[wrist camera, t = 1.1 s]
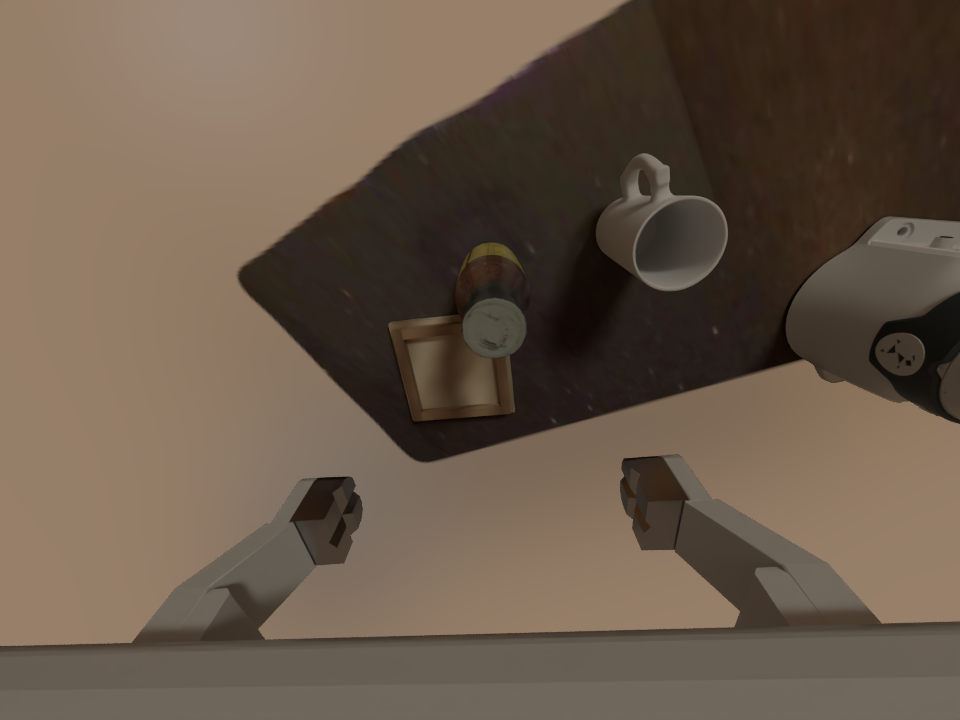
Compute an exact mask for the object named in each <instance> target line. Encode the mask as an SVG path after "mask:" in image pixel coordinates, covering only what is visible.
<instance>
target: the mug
mask: <svg viewBox="0 0 960 720" xmlns="http://www.w3.org/2000/svg"><path fill="white" fill-rule="evenodd" d="M640 169H642V170H643V171H644V172H645V173H646V175H647V177H648V179H649V182H650V187H651V196H642V195H641V194H640V192H639V187H638V174H639V171H640ZM669 181H670V172H669V166H667V165H663V164H662V163H661V162H660V161H659V160H657V159H656V158H655V157H653V156H651V155H649V154H640V155H637V156H636V157H634V158H633V159H632V160H631V161H630V162H629V164H628V165H627V167H626V169H625V170H624V172H623V174H622V175H621V177H620V183H621V189H622V198H620V199H618V200H616V201H614V202H613V203H611V204H610V205H609V206H608V207H607V208H606V209H605V210H604V211H603V213H602V214H601V216H600V218H599V220H598V223H597V226H596V240H597V243H598V246H599V248H600V249H601V250H602V252H603V253H604V254H606V255H607V256H608V257H610V258H611V259H612V260H613V261H615V262H616V263H618V264H619V265H621V266H622V267H623V268H625V269H626V270H627V271H629V272H630V273H632V274H633V275H634V276H636V277H637V278H638V279H640V280H641V281H643V282H644V283H646V284H647V285H649V286H650V287H652V288H655V289H658V290H662V291H677V290H682V289H685V288H688V287H690V286H692V285H694V284H696V283H697V282H699V281H700V280H702V279H703V278H704V277H706V276H707V275H708V274H709V273H710V272H711V271H712V270H713V269H714V267H715V266H716V265H717V263H718V262H719V260H720V258H721V256H722V254H723V252H724V250H725V247H726V243H727V237H728V228H727V222H726V219H725V216H724V214H723V212H722V211H721V209H720V208H719V207H718V206H717V205H716V204H715V203H713V202H712V201H710V200H708V199H706V198H703V197H699V196H674V195H672V194H671V192H670V190H669Z"/></svg>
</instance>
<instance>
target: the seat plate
mask: <svg viewBox="0 0 960 720" xmlns="http://www.w3.org/2000/svg"><path fill="white" fill-rule="evenodd" d="M388 326H389V330H390V334H391V338H392V342H393V345H394V349H395V353H396V357H397V361H398V365H399V369H400V372H401V376H402V380H403V384H404V388H405V392H406V396H407V399H408V403H409V407H410V411H411V415H412V419H413V420H414V421H426V420H439V419H452V418H464V417H477V416H489V415H502V414H511V412H515V406H514V395H513V385H512V375H511V365H510V355H508V356H507V357H503V358H498V359H491V358H484V357H481V356H479V355H477V354H476V353H474V352H473V351H471V349H470V348H469V347H468V346H467V345H466V343H465V341H464V339H463V334H462V319H461V316H460V315H451V316H441V317H432V318H423V319H414V320H404V321H395V322H390V323H389V325H388Z"/></svg>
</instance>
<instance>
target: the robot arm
mask: <svg viewBox="0 0 960 720" xmlns="http://www.w3.org/2000/svg"><path fill="white" fill-rule="evenodd" d="M899 229H900V230H899ZM898 231H899V232H898ZM786 336H787V340H788V343H789V345H790V347H791V348H792V349H793V351H794V352H795V353H796V354H797V355H799V356H800V357H801V358H803V359H805V360H807V361H809V362H810V363H812V364H813V365H814V366H815V369H816V371H817V373H818V374H819V376H820V377H821V378H822V379H824V380H826V381H829V382H831V383H836V382H841V381H847V382H849V383H851V384H853V385H856V386H858V387H860V388H862V389H864V390H867V391H869V392H871V393H874V394H876V395H878V396H880V397H882V398H885V399H887V400H889V401H892V402H898V403H901V402H903V401H910V402H912V403H914V404H915V405H917V406H919V407H920V408H921V409H923V410H925V411H927V412H929V413H931V414H934V415H936V416H940V417H943V418H945V419H947V420H949V421H952V422H955V423H959V424H960V222H957V221H944V220H931V219H918V218H905V217H885V218H882V219H881V220H879V221H878V222H876V223H875V224H874V225H873V226H872V227H871V228H870V229H869V230H867V232H866V233H865V234H864V235H863V236H862V237H861V238H860V239H859V240H858V241H857V242H856V243H855V244H854V245H853V246H851V247H850V248H848V249H847V250H845V251H844V252H842V253H840V254H839V255H837V256H836V257H834V258H832V259H831V260H829V261H828V262H827V263H825V264H824V265H823V266H822V267H820V268H819V269H818V270H817V271H816V272H815V273H814V274H813V275H812V276H811V277H810V278H809V279H808V280H807V281H806V282H805V283H804V285H803V286H802V287H801V289H800V290H799V291H798V293H797V295H796V296H795V298H794V300H793V302H792V304H791V306H790V309H789V311H788V315H787V319H786ZM621 469H622V471H623V473H624V477H623V478H622V480H621V481H620V492H621V499H622V503H623V506H624V509H625V511H626V514H627V515H628V516H630V517H631V518H632V519H633V526H632V529H633V531H634V533H635V536H636V538H637V541H638V543H639V545H640V548H641V550H675V552H676V553H677V554H678V555H679V556H681V557H682V558H683V559H684V560H685V561H686V562H687V563H688V564H689V565H690V566H691V567H693V569H695V570H696V571H697V572H698V573H699V574H700V575H701V576H702V577H703V578H704V579H706V580H707V581H708V582H709V583H710V584H711V585H712V586H713V587H714V588H716V590H718V591H719V592H720V593H721V594H722V595H723V596H724V597H725V598H726V599H728V601H730V602H731V603H732V604H733V605H734V606H735V607H736V608H737V609H738V610H739V611H740V614H739V616H738V619H737V622H736V625H735V627H734V628H733V627H732V628H693V629H659V630H658V629H656V630H618V631H617V630H616V631H579V632H543V633H542V632H540V633H505V634H466V635H427V636H391V637H351V638H313V639H274V640H265V639H264V637H263V636H262V634H261V633H260V632H259V630H258V628H259V627H260V626H261V625H262V624H263V623H264V622H265V621H266V620H267V619H268V618H269V617H270V615H271V614H272V613H273V612H274V611H275V610H276V609H277V608H278V607H279V606H280V605H281V604H282V603H283V602H284V601H285V599H286V598H287V597H288V596H289V595H290V594H291V593H292V592H293V591H294V590H295V589H296V588H297V587H298V585H299V584H300V583H301V582H302V581H303V580H304V579H305V578H306V577H307V576H308V575H309V574H310V572H312V570H313V569H314V568H315V567H316V566H315V565H327V564H340V563H344V562H345V560H346V557H347V555H348V552H349V550H350V547H351V544H352V539H351V536H350V535H351V534H352V533H353V532H354V531H356V530H357V529H358V527H359V524H360V521H361V518H362V510H363V509H362V501H361V499H360V496H359V495H357V494H356V493H355V492H353V490H354V488H355V486H356V485H355V483H354V480H353V478H352V477H325V478H309V479H302V480H300V481H299V482H298V483H297V484H296V486H295V487H294V489H293V491H292V492H291V493H290V495H289V496H288V498H287V499H286V501H285V502H284V504H283V505H282V507H281V509H280V510H279V511H278V513H277V514H276V516H275V517H274V519H273V520H272V522H271V523H269V524H264V525H263V526H262V527H260V528H259V529H257V530H256V531H255V532H253V533H252V534H250V535H249V536H248V537H246V538H245V539H243V540H242V541H241V542H239V543H238V544H237V545H235V546H234V547H233V548H231V549H230V550H228V551H227V552H225V553H224V554H223V555H221V556H220V557H218V558H217V559H216V560H214V561H213V562H211V563H210V564H209V565H207V566H206V567H204V568H203V569H202V570H200V571H199V572H198V573H196V574H195V575H193V576H192V577H191V578H189V579H188V580H186V581H185V582H183V583H182V584H181V585H179V586H178V587H176V588H175V589H174V590H173V592H172V593H171V594H170V595H169V597H168V598H167V599H166V601H165V602H164V603H163V604H162V605H161V607H160V608H159V609H158V610H157V612H156V613H155V614H154V615H153V617H152V618H151V619H150V620H149V622H148V623H147V624H146V625H145V627H144V628H143V629H142V630H141V632H140V633H139V634H138V635H137V637H136V638H135V639H134V641H133V642H132V643H114V644H76V645H35V646H0V720H960V622H925V623H888V624H887V623H886V624H882V623H881V622H880V621H879V620H878V619H877V618H876V617H875V615H874V614H873V613H872V612H871V611H870V610H869V609H868V608H867V606H866V605H865V604H864V603H863V602H862V601H861V600H860V599H859V597H858V596H857V595H856V594H855V593H854V592H853V591H852V590H851V588H850V587H849V586H848V585H847V584H846V583H845V582H844V581H843V580H842V578H841V577H840V576H839V575H838V574H837V573H836V572H835V571H834V569H833V568H832V567H831V566H830V565H829V564H828V563H826V562H824V561H823V560H821V559H819V558H818V557H816V556H814V555H813V554H811V553H809V552H808V551H806V550H804V549H802V548H800V547H799V546H797V545H795V544H794V543H792V542H790V541H789V540H787V539H785V538H783V537H782V536H780V535H779V534H777V533H775V532H773V531H772V530H770V529H768V528H767V527H765V526H763V525H762V524H760V523H758V522H756V521H755V520H753V519H751V518H750V517H748V516H746V515H744V514H743V513H741V512H739V511H738V510H736V509H734V508H733V507H731V506H729V505H728V504H726V503H724V502H722V501H721V500H719V499H712V498H711V497H710V495H709V494H708V493H707V491H706V490H705V488H704V487H703V486H702V484H701V483H700V481H699V480H698V479H697V477H696V476H695V474H694V473H693V472H692V470H691V469H690V467H689V466H688V465H687V463H686V462H685V460H684V459H683V458H682V457H681V456H680V455H678V454H676V455H663V456H652V457H638V458H624V459H623V461H622V468H621Z"/></svg>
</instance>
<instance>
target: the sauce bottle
mask: <svg viewBox="0 0 960 720" xmlns="http://www.w3.org/2000/svg"><path fill="white" fill-rule="evenodd" d="M529 302H530V289H529V284H528V281H527V278H526V276H525V274H524V272H523V270H522V268H521V266H520V264H519V262H518V260H517V258H516V257H515V255H514V254H513V252H512V251H511V250H510V249H508V248H507V247H506V246H504V245H501V244H498V243H493V242H488V243H484V244H481V245H479V246H477V247H475V248H474V249H473V250H471V251H470V253H469V254H468V255H467V256H466V258H465V260H464V262H463V265H462V268H461V271H460V274H459V276H458V280H457V283H456V290H455V304H456V307H457V310H458V313H459V315H460V316H461V319H462V334H463V339H464V341H465V343H466V345H467V346H468V347H469V348H470V349H471V351H473V352H474V353H476V354H477V355H479V356H481V357H484V358H491V359H498V358H503V357H507V356H508V355H510V354H513V353H514V352H515V351H517V350H518V349H519V348H520V346H521V345H522V343H523V341H524V339H525V336H526V334H527V323H526V316H525V314H526V312H527V309H528V306H529Z"/></svg>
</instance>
